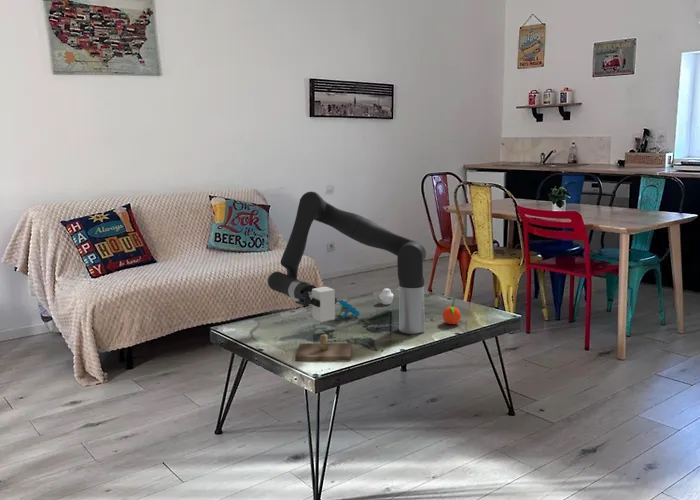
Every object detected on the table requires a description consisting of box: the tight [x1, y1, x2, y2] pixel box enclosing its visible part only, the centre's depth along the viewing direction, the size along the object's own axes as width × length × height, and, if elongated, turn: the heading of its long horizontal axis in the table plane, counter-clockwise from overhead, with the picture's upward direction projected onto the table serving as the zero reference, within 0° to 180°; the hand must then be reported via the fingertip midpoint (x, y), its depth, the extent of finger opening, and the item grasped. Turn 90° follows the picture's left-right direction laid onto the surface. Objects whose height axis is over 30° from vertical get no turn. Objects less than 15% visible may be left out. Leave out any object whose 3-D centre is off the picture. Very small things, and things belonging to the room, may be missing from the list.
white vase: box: [379, 287, 395, 306], centre depth 266 cm, size 6×6×7 cm
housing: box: [311, 286, 336, 323], centre depth 204 cm, size 6×6×10 cm
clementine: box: [442, 305, 462, 325], centre depth 235 cm, size 8×7×7 cm
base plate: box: [294, 333, 353, 362], centre depth 205 cm, size 18×13×6 cm
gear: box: [337, 299, 361, 320], centre depth 247 cm, size 11×6×10 cm
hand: (327, 302), depth 202 cm, fingers closed on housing, 5 cm apart
